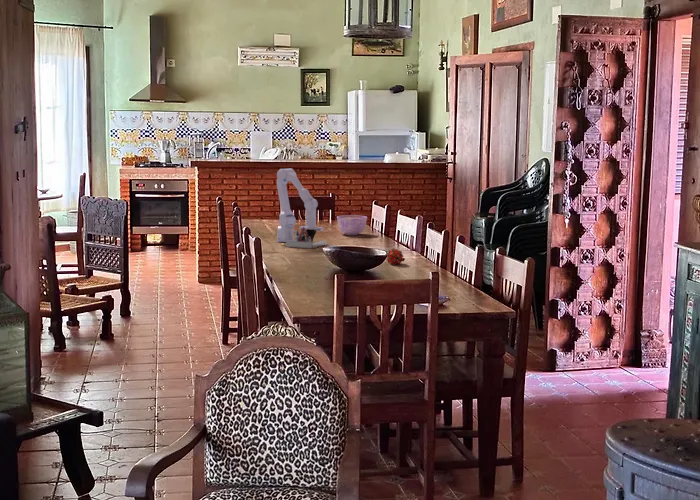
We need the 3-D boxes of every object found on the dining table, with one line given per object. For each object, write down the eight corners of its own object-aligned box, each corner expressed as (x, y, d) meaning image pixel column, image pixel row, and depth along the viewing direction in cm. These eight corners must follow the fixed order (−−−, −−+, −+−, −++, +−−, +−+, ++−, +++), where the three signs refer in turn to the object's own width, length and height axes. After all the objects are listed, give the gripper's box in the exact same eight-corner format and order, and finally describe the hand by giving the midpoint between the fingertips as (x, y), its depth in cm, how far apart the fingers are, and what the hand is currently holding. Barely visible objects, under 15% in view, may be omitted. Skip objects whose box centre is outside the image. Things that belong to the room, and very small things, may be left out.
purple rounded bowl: (331, 235, 548) (331, 217, 546) (343, 231, 566) (343, 214, 565) (360, 237, 541) (360, 219, 539) (371, 233, 559) (371, 216, 557)
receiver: (283, 246, 495) (283, 240, 494) (297, 242, 512) (297, 236, 511) (314, 248, 487) (314, 242, 487) (327, 244, 505) (327, 238, 504)
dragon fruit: (393, 264, 445) (398, 272, 434) (381, 255, 443) (386, 262, 431) (403, 252, 444) (409, 259, 433) (391, 243, 441) (396, 249, 430)
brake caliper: (308, 243, 491) (298, 226, 493) (295, 253, 496) (284, 236, 498) (318, 241, 502) (307, 224, 503) (304, 251, 506) (294, 234, 508)
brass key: (283, 246, 497) (283, 244, 497) (280, 245, 499) (280, 244, 499) (291, 245, 502) (291, 243, 502) (288, 244, 504) (288, 242, 504)
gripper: (297, 219, 503) (297, 242, 505) (319, 220, 498) (319, 243, 500) (302, 218, 510) (302, 241, 512) (324, 219, 504) (324, 242, 506)
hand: (310, 242), depth 506 cm, fingers closed
